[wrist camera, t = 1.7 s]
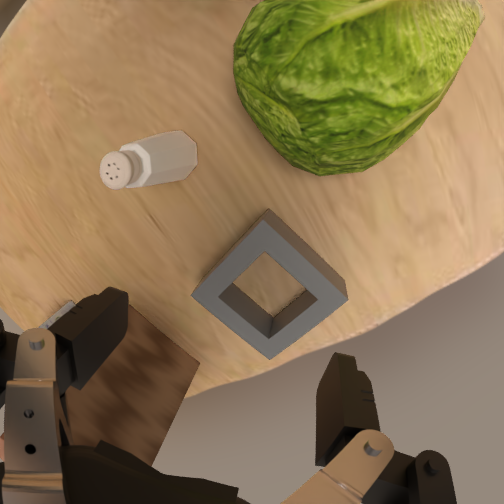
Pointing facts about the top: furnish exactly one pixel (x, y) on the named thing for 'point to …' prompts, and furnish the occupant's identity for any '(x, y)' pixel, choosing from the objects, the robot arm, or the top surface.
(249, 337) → the socket block
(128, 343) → the awning shelter
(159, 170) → the salt shaker
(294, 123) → the lettuce
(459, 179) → the top surface
